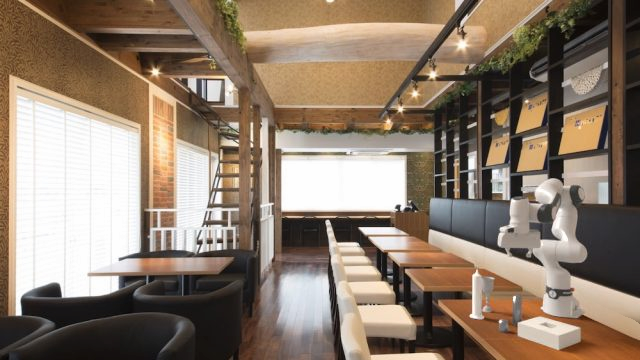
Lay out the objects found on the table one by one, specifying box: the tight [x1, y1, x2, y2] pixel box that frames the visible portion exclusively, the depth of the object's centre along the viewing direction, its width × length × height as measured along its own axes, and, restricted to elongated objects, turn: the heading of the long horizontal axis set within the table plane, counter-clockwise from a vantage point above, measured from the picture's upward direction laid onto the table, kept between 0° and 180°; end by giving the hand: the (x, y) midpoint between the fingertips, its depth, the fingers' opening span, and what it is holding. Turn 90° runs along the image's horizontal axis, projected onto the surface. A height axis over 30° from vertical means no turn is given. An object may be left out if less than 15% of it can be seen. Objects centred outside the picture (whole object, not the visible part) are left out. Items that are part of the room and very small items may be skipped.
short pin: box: [498, 318, 509, 334], centre depth 187 cm, size 4×4×5 cm
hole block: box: [517, 315, 582, 351], centre depth 178 cm, size 18×18×6 cm
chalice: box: [482, 276, 495, 313], centre depth 217 cm, size 7×7×18 cm
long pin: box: [512, 294, 523, 327], centre depth 196 cm, size 4×4×14 cm
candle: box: [469, 268, 485, 320], centre depth 206 cm, size 7×7×25 cm
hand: (519, 257), depth 197 cm, fingers open, 8 cm apart
